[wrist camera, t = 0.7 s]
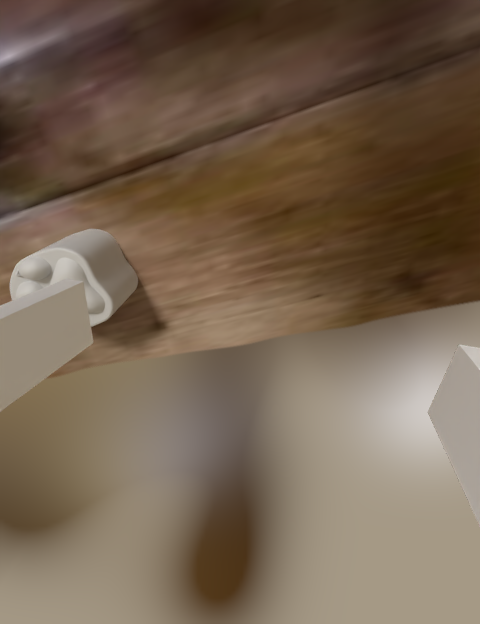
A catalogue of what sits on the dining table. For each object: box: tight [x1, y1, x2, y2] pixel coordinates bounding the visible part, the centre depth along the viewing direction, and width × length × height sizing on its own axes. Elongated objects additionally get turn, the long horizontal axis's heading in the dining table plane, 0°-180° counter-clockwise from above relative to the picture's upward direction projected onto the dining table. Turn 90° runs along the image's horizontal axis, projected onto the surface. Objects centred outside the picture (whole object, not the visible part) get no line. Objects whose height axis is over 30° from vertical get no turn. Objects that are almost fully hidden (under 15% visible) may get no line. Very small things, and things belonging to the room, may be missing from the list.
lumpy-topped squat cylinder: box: [10, 229, 138, 327], centre depth 38 cm, size 10×13×9 cm
